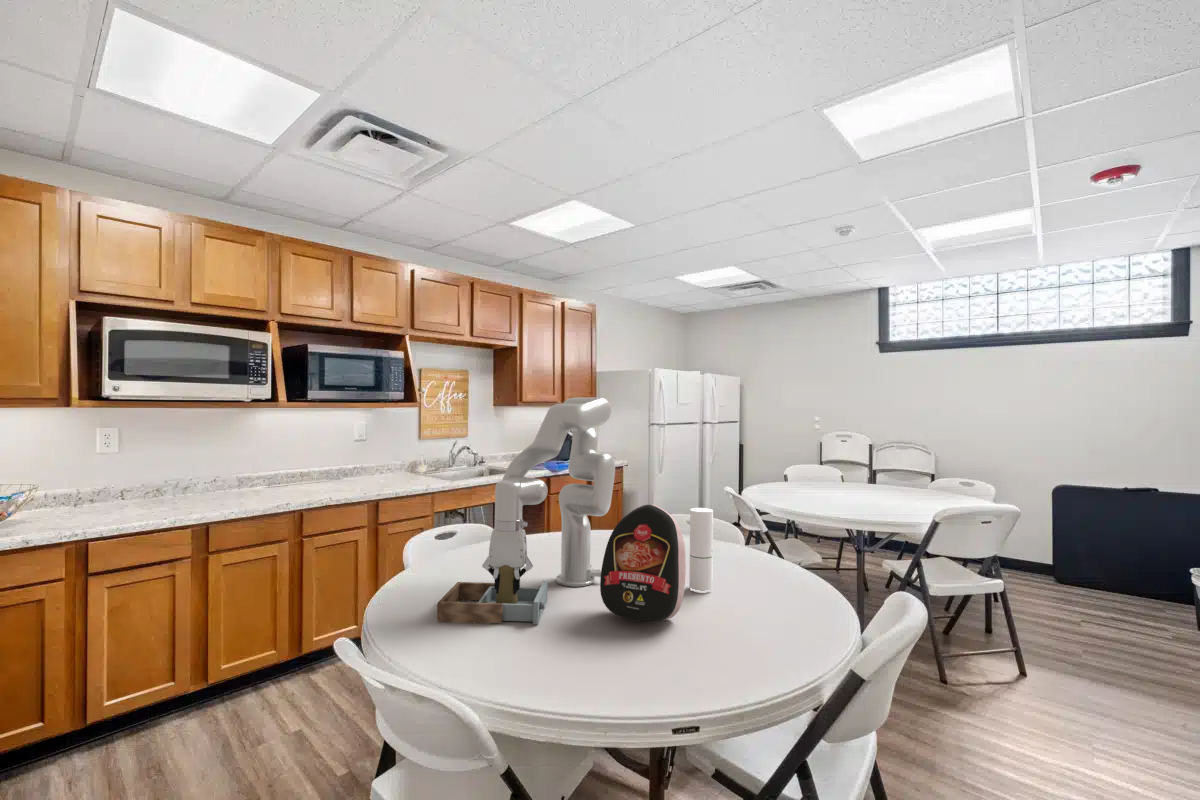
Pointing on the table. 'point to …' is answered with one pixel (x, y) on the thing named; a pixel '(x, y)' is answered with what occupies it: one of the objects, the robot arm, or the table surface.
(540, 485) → the robot arm
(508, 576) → the cork
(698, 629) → the table surface
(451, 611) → the frame
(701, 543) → the cylindrical container
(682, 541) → the packaged food
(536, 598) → the tray
